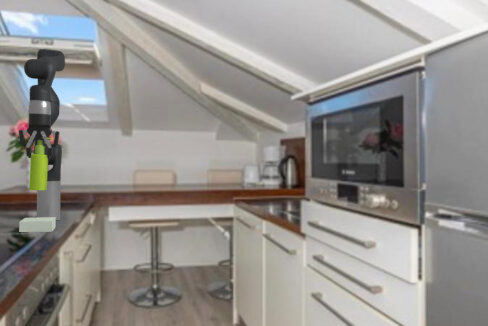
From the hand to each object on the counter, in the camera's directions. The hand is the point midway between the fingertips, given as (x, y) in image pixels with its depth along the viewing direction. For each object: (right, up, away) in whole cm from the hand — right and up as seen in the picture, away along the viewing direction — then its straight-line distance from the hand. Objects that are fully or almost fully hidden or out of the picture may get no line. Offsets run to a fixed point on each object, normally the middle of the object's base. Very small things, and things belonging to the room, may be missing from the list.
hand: (39, 157), depth 154 cm
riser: (-1, -27, 0) cm, 27 cm away
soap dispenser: (0, -12, 0) cm, 12 cm away
